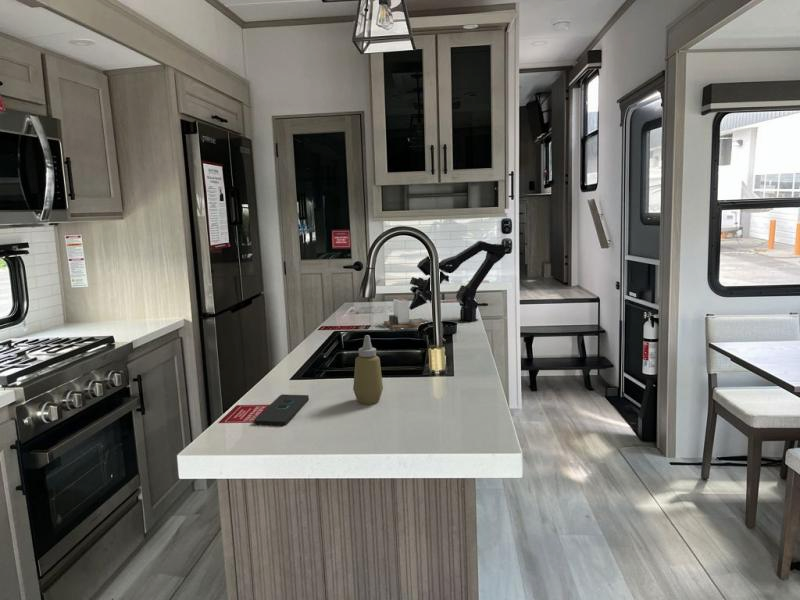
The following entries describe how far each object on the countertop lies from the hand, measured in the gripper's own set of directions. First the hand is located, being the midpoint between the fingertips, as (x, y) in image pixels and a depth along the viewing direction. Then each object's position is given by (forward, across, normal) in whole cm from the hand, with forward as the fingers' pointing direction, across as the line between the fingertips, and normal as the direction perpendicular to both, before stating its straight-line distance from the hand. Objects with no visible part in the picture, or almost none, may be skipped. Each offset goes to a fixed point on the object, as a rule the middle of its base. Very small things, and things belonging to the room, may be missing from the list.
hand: (410, 309), depth 255 cm
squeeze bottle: (+35, +93, -26) cm, 103 cm away
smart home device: (+52, +93, -41) cm, 114 cm away
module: (+7, 0, +1) cm, 7 cm away
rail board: (+6, 0, +4) cm, 7 cm away
